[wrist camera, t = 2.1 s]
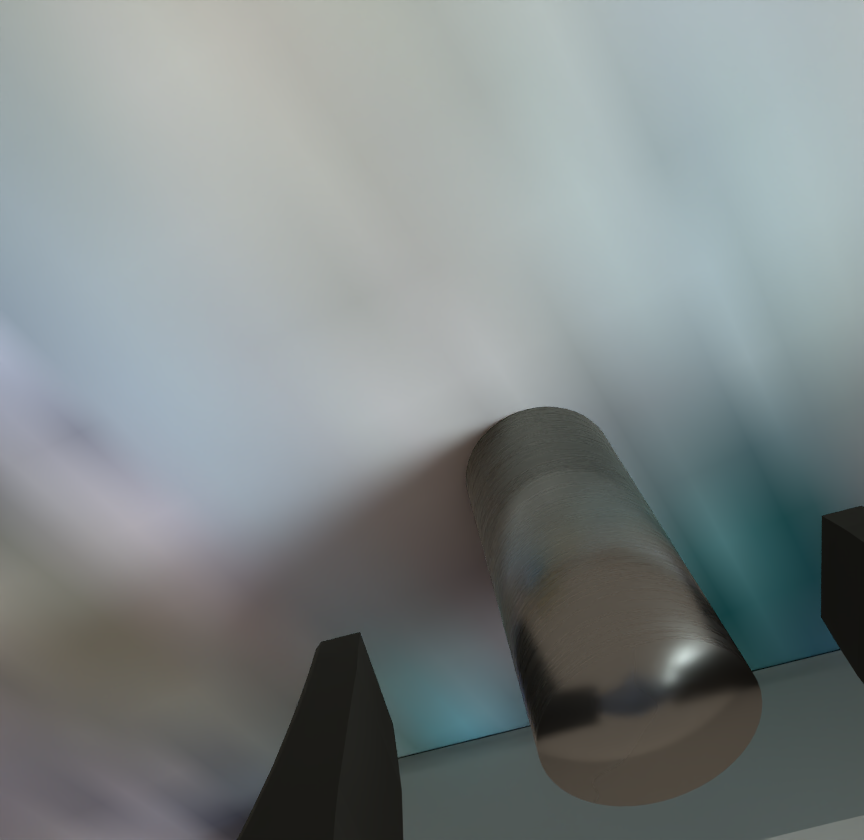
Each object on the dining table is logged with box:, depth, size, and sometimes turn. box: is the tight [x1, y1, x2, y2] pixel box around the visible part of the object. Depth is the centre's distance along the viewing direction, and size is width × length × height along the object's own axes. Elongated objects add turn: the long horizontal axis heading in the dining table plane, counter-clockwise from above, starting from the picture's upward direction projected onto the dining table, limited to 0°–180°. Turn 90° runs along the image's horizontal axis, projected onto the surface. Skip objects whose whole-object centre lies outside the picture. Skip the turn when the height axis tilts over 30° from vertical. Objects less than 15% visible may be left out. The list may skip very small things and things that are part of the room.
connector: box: [466, 407, 762, 806], centre depth 13 cm, size 3×3×6 cm
